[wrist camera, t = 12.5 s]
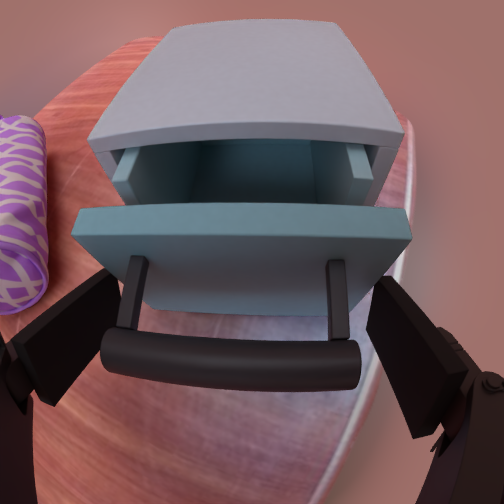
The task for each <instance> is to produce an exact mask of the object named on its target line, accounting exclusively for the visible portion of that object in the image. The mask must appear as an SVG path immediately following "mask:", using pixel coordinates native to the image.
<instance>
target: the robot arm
mask: <svg viewBox="0 0 504 504" xmlns="http://www.w3.org/2000/svg"><path fill="white" fill-rule="evenodd" d="M120 302H121V295H120V290H119V284H118V279H117V278H116V277H115V276H114V275H113V274H111V273H110V272H109V271H108V270H107V269H106V268H103V269H102V270H100V271H99V272H97V273H96V274H94V275H93V276H92V277H90V278H89V279H87V280H86V281H85V282H83V283H82V284H81V285H79V286H78V287H76V288H75V289H74V290H72V291H71V292H70V293H68V294H67V295H66V296H64V297H63V298H62V299H60V300H59V301H58V302H56V303H55V304H54V305H52V306H51V307H50V308H49V309H47V310H46V311H45V312H43V313H42V314H41V315H40V316H38V317H37V318H36V319H35V320H33V321H32V322H31V323H30V324H28V325H27V326H26V327H25V328H24V329H22V330H21V331H20V332H19V333H17V334H16V335H15V336H14V337H13V338H12V339H11V340H10V341H9V342H8V343H7V344H5V342H4V340H3V337H2V335H1V332H0V504H38V502H37V495H36V487H35V477H34V465H33V398H32V397H31V395H30V393H31V392H32V391H33V390H35V392H36V393H37V395H38V397H39V399H40V400H41V401H42V402H44V403H47V404H49V405H51V406H53V407H55V406H56V404H57V403H58V402H59V400H60V399H61V398H62V396H63V395H64V394H65V393H66V391H67V390H68V389H69V387H70V386H71V385H72V384H73V382H74V381H75V380H76V379H77V377H78V376H79V375H80V374H81V372H82V371H83V370H84V369H85V367H86V366H87V365H88V364H89V362H90V361H91V360H92V359H93V358H94V356H95V355H96V354H97V353H98V352H99V350H100V346H101V341H102V338H103V336H104V334H105V332H106V331H107V330H108V329H110V328H113V327H116V328H119V327H117V326H116V324H117V318H118V312H119V307H120ZM366 331H367V333H368V335H369V337H370V340H371V342H372V344H373V346H374V348H375V350H376V352H377V355H378V357H379V359H380V361H381V363H382V366H383V368H384V370H385V372H386V374H387V377H388V379H389V381H390V384H391V386H392V388H393V391H394V393H395V395H396V398H397V400H398V403H399V405H400V407H401V410H402V412H403V415H404V417H405V420H406V422H407V425H408V427H409V430H410V433H411V435H412V438H413V439H416V438H420V437H424V436H428V435H432V434H433V433H434V432H435V430H436V429H437V427H438V425H439V424H440V422H441V424H442V426H443V428H444V432H443V433H442V434H441V436H440V437H439V439H438V440H437V441H436V443H435V444H434V446H433V447H432V449H431V451H430V452H433V451H434V450H435V448H436V447H437V448H436V451H435V455H434V458H433V461H432V464H431V466H430V469H429V472H428V474H427V477H426V480H425V482H424V485H423V487H422V490H421V492H420V494H419V497H418V499H417V501H416V503H415V504H504V378H502V377H501V376H500V375H499V374H496V373H493V372H487V371H485V372H482V371H481V370H480V369H479V367H478V366H477V365H476V363H475V362H474V361H473V360H472V358H471V357H470V356H469V355H468V353H467V352H466V351H465V350H463V348H462V346H461V345H460V344H458V341H457V340H456V339H455V338H454V337H453V335H452V334H451V333H449V332H448V331H446V330H445V329H443V328H441V327H437V328H436V327H435V326H434V324H433V323H432V322H431V321H430V320H429V318H428V317H427V316H426V315H425V313H424V312H423V311H422V310H421V309H420V308H419V307H418V305H417V304H416V303H415V302H414V301H413V300H412V299H411V297H410V296H409V295H408V294H407V293H406V292H405V291H404V289H403V288H402V287H401V286H400V285H399V284H398V283H397V282H396V281H395V280H394V278H393V277H392V276H382V277H381V278H380V279H379V280H378V282H377V283H376V284H375V285H374V289H373V295H372V301H371V306H370V311H369V316H368V321H367V326H366Z"/></svg>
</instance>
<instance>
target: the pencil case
mask: <svg viewBox="0 0 504 504" xmlns="http://www.w3.org/2000/svg"><path fill="white" fill-rule="evenodd" d="M46 166H47V149H46V138H45V134H44V131H43V129H42V127H41V126H40V124H39V123H38V122H36V121H35V120H33V119H32V118H29V117H26V116H20V115H16V116H11V117H8V118H4V119H3V117H2V116H1V115H0V315H11V314H15V313H18V312H20V311H23V310H25V309H26V308H29V307H31V306H32V305H34V304H35V303H37V302H38V301H39V299H40V298H41V297H42V295H43V294H44V293H45V291H46V289H47V286H48V281H49V273H48V269H47V263H48V251H49V250H48V235H47V228H46V219H47V174H46Z"/></svg>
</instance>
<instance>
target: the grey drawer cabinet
mask: <svg viewBox="0 0 504 504" xmlns="http://www.w3.org/2000/svg"><path fill="white" fill-rule="evenodd" d="M404 134H405V133H404V130H403V128H402V126H401V124H400V122H399V120H398V118H397V116H396V114H395V112H394V111H393V109H392V107H391V105H390V103H389V101H388V100H387V98H386V96H385V94H384V93H383V91H382V89H381V88H380V86H379V85H378V83H377V81H376V79H375V78H374V76H373V75H372V73H371V71H370V70H369V68H368V67H367V65H366V64H365V62H364V61H363V59H362V58H361V56H360V55H359V53H358V52H357V51H356V49H355V48H354V46H353V45H352V43H351V42H350V41H349V39H348V38H347V37H346V35H345V34H344V33H343V31H342V30H341V29H340V27H339V26H338V25H337V24H336V23H331V22H321V21H310V20H293V19H246V20H229V21H218V22H208V23H200V24H193V25H186V26H181V27H175V28H173V29H172V30H171V31H170V32H169V33H168V34H167V35H166V36H165V37H164V38H163V39H162V40H161V41H160V42H159V43H158V44H157V45H156V47H155V48H154V49H153V50H152V51H151V52H150V53H149V54H148V56H147V57H146V58H145V59H144V60H143V61H142V63H141V64H140V65H139V66H138V67H137V69H136V70H135V71H134V72H133V74H132V75H131V76H130V77H129V79H128V80H127V81H126V82H125V84H124V85H123V86H122V88H121V89H120V90H119V92H118V93H117V95H116V96H115V97H114V99H113V100H112V101H111V103H110V104H109V106H108V107H107V109H106V110H105V112H104V113H103V115H102V116H101V118H100V119H99V121H98V122H97V124H96V125H95V127H94V128H93V130H92V132H91V133H90V135H89V137H88V138H87V141H88V143H89V145H90V147H91V148H92V150H93V152H94V153H95V156H96V158H97V159H98V161H99V163H100V164H101V166H102V168H103V169H104V171H105V173H106V174H107V176H108V178H109V179H110V181H111V182H112V179H113V176H114V174H115V172H116V169H117V167H118V165H119V163H120V160H121V158H122V156H123V154H124V152H125V150H126V148H131V147H139V146H147V145H156V144H166V143H177V142H189V141H205V140H226V139H298V140H319V141H335V142H347V143H358V144H363V145H364V148H365V151H366V155H367V158H368V161H369V164H370V168H371V171H372V175H373V182H372V185H371V187H370V190H369V192H368V194H367V197H366V199H365V202H364V204H363V206H371V207H374V204H375V202H376V200H377V198H378V196H379V194H380V191H381V189H382V187H383V185H384V183H385V180H386V178H387V176H388V173H389V171H390V169H391V166H392V164H393V162H394V159H395V157H396V155H397V152H398V148H399V147H400V144H401V142H402V139H403V137H404ZM112 184H113V183H112ZM113 186H114V185H113ZM114 187H115V186H114ZM115 189H116V188H115ZM117 192H118V191H117ZM118 194H119V193H118ZM119 195H120V194H119ZM120 197H121V196H120ZM122 200H123V199H122ZM124 203H125V202H124ZM125 205H126V204H125Z"/></svg>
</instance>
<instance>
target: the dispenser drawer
mask: <svg viewBox="0 0 504 504" xmlns="http://www.w3.org/2000/svg"><path fill="white" fill-rule="evenodd" d="M372 182H373V175H372V171H371V168H370V164H369V161H368V158H367V155H366V151H365V148H364V145H363V144H358V143H347V142H335V141H319V140H298V139H226V140H205V141H189V142H177V143H166V144H156V145H147V146H139V147H131V148H126V150H125V152H124V154H123V156H122V158H121V160H120V163H119V165H118V167H117V169H116V172H115V174H114V176H113V179H112V183H113V185H114V186H115V188H116V190H117V191H118V193H119V194H120V196H121V198H122V199H123V201H124V202H125V204H126V206H109V207H93V208H81V209H80V211H79V213H78V216H77V219H76V221H75V224H74V227H73V229H72V232H71V236H72V237H73V238H74V239H75V240H76V241H77V242H78V243H79V244H80V245H81V246H82V247H83V248H84V249H86V250H87V251H88V252H89V253H90V254H91V255H92V256H93V257H94V258H95V259H96V260H97V261H98V262H99V263H100V264H101V265H103V266H104V267H105V268H106V269H107V270H108V271H109V272H110V273H111V274H113V275H114V276H115V277H116V278H117V279H118V280H119V281H120V282H122V283H123V284H124V287H123V292H122V297H121V302H120V307H119V312H118V318H117V324H116V326H117V327H119V328H116V327H113V328H110V329H108V330H107V331H106V332H105V334H104V336H103V338H102V341H101V346H100V357H101V362H102V364H103V366H104V368H105V369H106V370H107V371H109V372H112V373H116V374H121V375H125V376H130V377H136V378H141V379H146V380H152V381H158V382H164V383H171V384H178V385H186V386H194V387H203V388H213V389H225V390H239V391H260V392H320V391H340V390H353V389H355V388H356V387H357V385H358V383H359V380H360V376H361V367H362V361H361V352H360V348H359V345H358V343H357V342H356V341H355V340H348V339H349V338H350V327H349V312H350V311H351V310H352V309H353V308H354V307H355V306H356V305H357V304H358V303H359V302H360V301H361V300H362V298H363V297H364V296H365V295H366V294H367V293H368V292H369V291H370V290H371V288H372V287H373V286H374V285H375V284H376V283H377V282H378V280H379V279H380V278H381V277H382V276H383V275H384V273H385V272H386V271H387V270H388V269H389V268H390V266H391V265H392V264H393V263H394V262H395V260H396V259H397V258H398V257H399V255H400V254H401V253H402V252H403V250H404V249H405V248H406V247H407V245H408V244H409V243H410V242H411V240H412V234H411V230H410V226H409V222H408V218H407V215H406V211H405V209H400V208H386V207H371V206H363V204H364V202H365V199H366V197H367V194H368V192H369V190H370V187H371V185H372ZM142 300H143V301H144V302H145V303H146V304H148V305H149V306H150V307H151V308H153V309H158V310H170V311H183V312H198V313H215V314H236V315H267V316H328V341H267V340H240V339H221V338H206V337H193V336H182V335H172V334H162V333H153V332H145V331H137V329H138V322H139V316H140V310H141V304H142Z"/></svg>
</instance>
